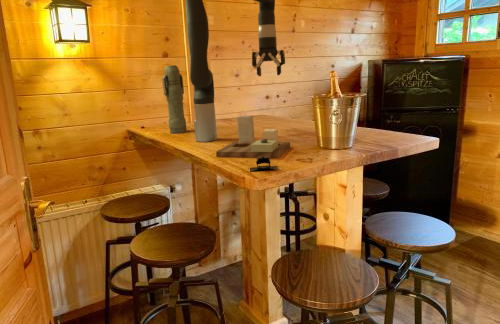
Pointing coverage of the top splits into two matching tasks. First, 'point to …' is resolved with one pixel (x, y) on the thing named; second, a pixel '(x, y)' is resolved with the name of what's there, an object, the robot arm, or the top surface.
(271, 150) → the lid
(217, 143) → the top surface
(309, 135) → the top surface
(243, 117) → the skincare box
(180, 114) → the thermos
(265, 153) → the puzzle board
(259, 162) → the black stand
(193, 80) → the robot arm
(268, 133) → the cream block
